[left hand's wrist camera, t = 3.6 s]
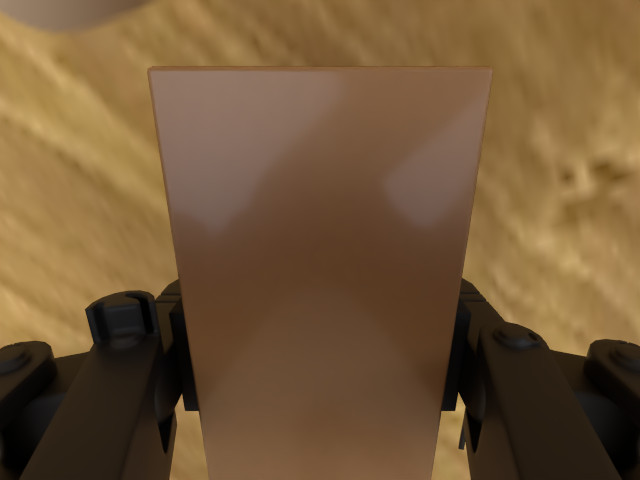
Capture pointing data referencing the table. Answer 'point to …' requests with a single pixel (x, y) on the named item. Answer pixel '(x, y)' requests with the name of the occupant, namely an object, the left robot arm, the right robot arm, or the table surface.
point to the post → (320, 257)
